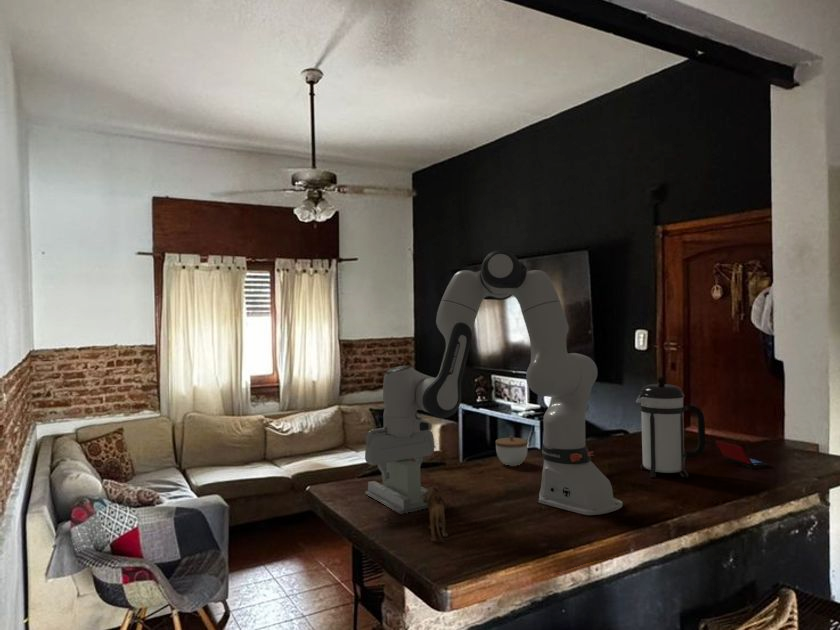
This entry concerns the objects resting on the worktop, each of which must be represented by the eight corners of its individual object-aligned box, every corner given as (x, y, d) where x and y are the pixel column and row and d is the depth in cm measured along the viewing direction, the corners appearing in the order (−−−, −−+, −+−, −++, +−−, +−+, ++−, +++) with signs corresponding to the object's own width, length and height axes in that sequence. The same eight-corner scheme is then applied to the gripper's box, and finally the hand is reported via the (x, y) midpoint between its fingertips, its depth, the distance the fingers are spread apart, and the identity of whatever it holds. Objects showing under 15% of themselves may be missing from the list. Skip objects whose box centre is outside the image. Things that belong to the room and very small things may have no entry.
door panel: (421, 501, 155) (420, 464, 155) (407, 504, 152) (407, 466, 152) (395, 489, 166) (394, 454, 166) (382, 491, 164) (381, 456, 164)
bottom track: (439, 505, 154) (439, 492, 154) (400, 514, 148) (400, 500, 148) (401, 487, 171) (401, 475, 171) (365, 495, 165) (364, 482, 165)
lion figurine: (420, 522, 142) (419, 485, 142) (441, 520, 143) (440, 484, 143) (432, 545, 127) (431, 504, 127) (456, 543, 128) (455, 502, 128)
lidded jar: (509, 469, 188) (509, 440, 189) (489, 462, 198) (488, 435, 198) (534, 464, 194) (534, 436, 194) (514, 458, 203) (513, 431, 203)
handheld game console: (772, 468, 185) (771, 444, 185) (742, 470, 182) (742, 446, 182) (742, 458, 197) (742, 436, 197) (714, 461, 195) (714, 438, 195)
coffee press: (676, 483, 169) (673, 380, 169) (628, 472, 182) (625, 376, 182) (707, 473, 179) (704, 376, 180) (659, 463, 192) (657, 372, 192)
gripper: (371, 432, 151) (372, 485, 151) (436, 423, 162) (437, 472, 162) (360, 428, 157) (361, 479, 156) (424, 419, 167) (425, 468, 167)
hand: (400, 476), depth 159 cm, fingers open, 8 cm apart
